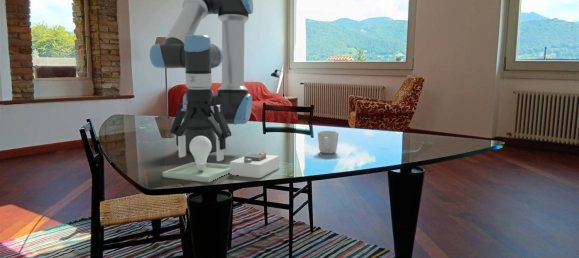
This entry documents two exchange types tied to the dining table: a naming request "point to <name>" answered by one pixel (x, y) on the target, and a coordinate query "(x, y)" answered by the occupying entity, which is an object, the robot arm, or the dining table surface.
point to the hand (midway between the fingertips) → (201, 158)
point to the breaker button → (255, 157)
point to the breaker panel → (254, 166)
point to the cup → (328, 141)
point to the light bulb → (200, 151)
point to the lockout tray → (198, 172)
